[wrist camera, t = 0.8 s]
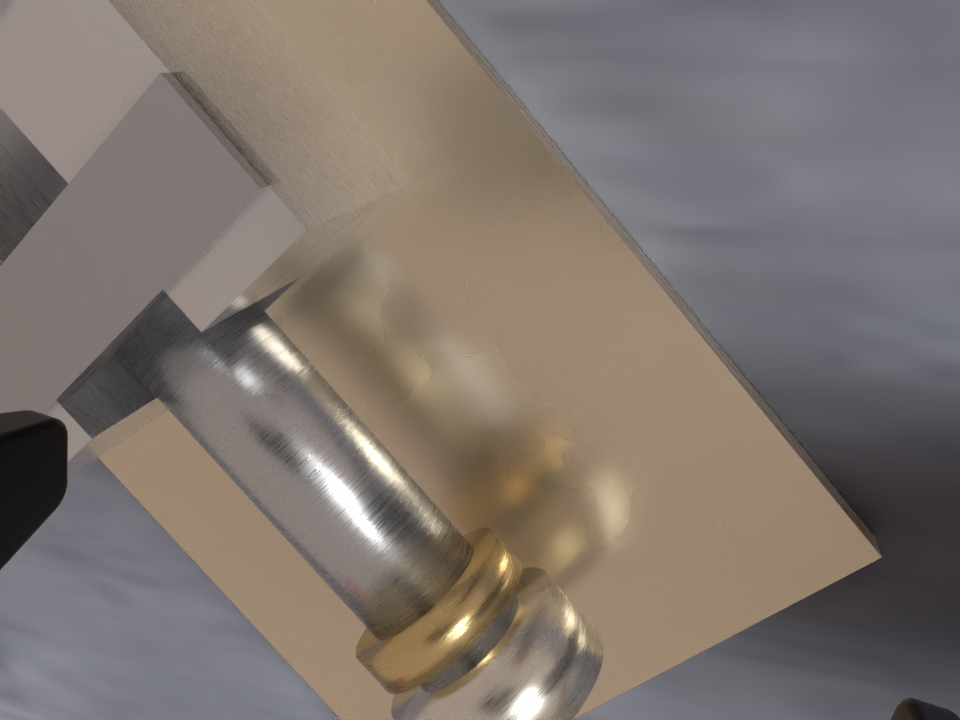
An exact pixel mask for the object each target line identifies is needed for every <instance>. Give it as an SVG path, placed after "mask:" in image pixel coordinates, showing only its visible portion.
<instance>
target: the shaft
mask: <svg viewBox="0 0 960 720" xmlns="http://www.w3.org/2000/svg"><path fill="white" fill-rule="evenodd" d="M116 353H117V354H118V355H119V356H120V357H121V358H122V359H123V360H124V362H125V363H126V364H127V365H128V366H129V367H130V368H131V369H132V370H133V371H134V373H135V374H136V375H137V376H138V377H139V378H140V379H141V380H142V381H143V382H144V384H145V385H146V386H147V387H148V388H149V389H150V390H151V391H152V392H153V393H154V395H155V396H156V397H157V398H158V399H159V400H160V401H161V402H162V403H163V404H164V406H165V407H166V408H167V409H168V410H169V411H170V412H171V413H172V414H173V415H174V417H175V418H176V419H177V420H178V421H179V422H180V423H181V424H182V425H183V426H184V428H185V429H186V430H187V431H188V432H189V433H190V434H191V435H192V436H193V437H194V439H195V440H196V441H197V442H198V443H199V444H200V445H201V446H202V447H203V448H204V450H205V451H206V452H207V453H208V454H209V455H210V456H211V457H212V458H213V459H214V461H215V462H216V463H217V464H218V465H219V466H220V467H221V468H222V469H223V470H224V472H225V473H226V474H227V475H228V476H229V477H230V478H231V479H232V480H233V481H234V483H235V484H236V485H237V486H238V487H239V488H240V489H241V490H242V491H243V492H244V494H245V495H246V496H247V497H248V498H249V499H250V500H251V501H252V502H253V503H254V505H255V506H256V507H257V508H258V509H259V510H260V511H261V512H262V513H263V514H264V516H265V517H266V518H267V519H268V520H269V521H270V522H271V523H272V524H273V525H274V527H275V528H276V529H277V530H278V531H279V532H280V533H281V534H282V535H283V536H284V538H285V539H286V540H287V541H288V542H289V543H290V544H291V545H292V546H293V547H294V549H295V550H296V551H297V552H298V553H299V554H300V555H301V556H302V557H303V558H304V560H305V561H306V562H307V563H308V564H309V565H310V566H311V567H312V568H313V569H314V571H315V572H316V573H317V574H318V575H319V576H320V577H321V578H322V579H323V580H324V582H325V583H326V584H327V585H328V586H329V587H330V588H331V589H332V590H333V591H334V593H335V594H336V595H337V596H338V597H339V598H340V599H341V600H342V601H343V602H344V604H345V605H346V606H347V607H348V608H349V609H350V610H351V611H352V612H353V613H354V615H355V616H356V617H357V618H358V619H359V620H360V621H361V622H362V623H363V624H364V626H365V627H366V629H365V630H364V632H363V634H362V636H361V637H360V640H359V642H358V644H357V647H356V653H355V655H356V658H357V659H358V660H359V662H360V663H361V664H362V665H363V666H364V667H365V668H366V669H367V670H368V671H369V673H370V674H371V675H372V676H373V677H374V678H375V679H376V680H377V681H378V682H379V683H380V685H381V686H382V687H383V688H384V689H385V690H386V691H387V692H388V693H390V694H394V697H393V701H392V706H391V714H392V718H393V719H394V720H573V718H574V717H575V716H576V714H577V713H578V712H579V710H580V709H581V707H582V706H583V704H584V703H585V701H586V699H587V698H588V696H589V694H590V692H591V691H592V689H593V687H594V685H595V682H596V680H597V678H598V675H599V673H600V670H601V667H602V663H603V658H604V643H603V640H602V637H601V635H600V634H599V632H598V631H597V630H596V629H595V628H594V627H593V625H592V624H591V623H590V622H589V621H588V620H587V619H586V617H585V616H584V615H583V614H582V613H581V612H580V611H579V609H578V608H577V607H576V606H575V605H574V604H573V603H572V601H571V600H570V599H569V598H568V597H567V596H566V595H565V593H564V592H563V591H562V590H561V589H560V588H559V587H558V585H557V584H556V583H555V582H554V581H553V580H552V578H551V577H550V576H549V575H548V574H547V573H546V572H545V571H544V570H543V569H541V568H537V567H530V568H524V569H522V567H521V563H520V561H519V560H518V559H517V558H516V557H515V556H514V554H513V553H512V552H511V551H510V550H509V549H508V548H507V546H506V545H505V544H504V543H503V542H502V541H501V540H500V538H499V537H498V536H497V535H496V534H495V533H494V532H493V530H491V529H490V528H480V529H476V530H474V531H471V532H469V533H467V534H465V535H462V534H461V533H460V532H459V531H458V530H457V529H456V528H455V526H454V525H453V524H452V523H451V522H450V521H449V520H448V518H447V517H446V516H445V515H444V514H443V513H442V512H441V510H440V509H439V508H438V507H437V506H436V505H435V504H434V503H433V501H432V500H431V499H430V498H429V497H428V496H427V495H426V493H425V492H424V491H423V490H422V489H421V488H420V487H419V486H418V484H417V483H416V482H415V481H414V480H413V479H412V478H411V476H410V475H409V474H408V473H407V472H406V471H405V470H404V468H403V467H402V466H401V465H400V464H399V463H398V462H397V461H396V459H395V458H394V457H393V456H392V455H391V454H390V453H389V451H388V450H387V449H386V448H385V447H384V446H383V445H382V444H381V442H380V441H379V440H378V439H377V438H376V437H375V436H374V434H373V433H372V432H371V431H370V430H369V429H368V428H367V426H366V425H365V424H364V423H363V422H362V421H361V420H360V419H359V417H358V416H357V415H356V414H355V413H354V412H353V411H352V409H351V408H350V407H349V406H348V405H347V404H346V403H345V402H344V400H343V399H342V398H341V397H340V396H339V395H338V394H337V392H336V391H335V390H334V389H333V388H332V387H331V386H330V384H329V383H328V382H327V381H326V380H325V379H324V378H323V377H322V375H321V374H320V373H319V372H318V371H317V370H316V369H315V367H314V366H313V365H312V364H311V363H310V362H309V361H308V359H307V358H306V357H305V356H304V355H303V354H302V353H301V352H300V350H299V349H298V348H297V347H296V346H295V345H294V344H293V342H292V341H291V340H290V339H289V338H288V337H287V336H286V335H285V333H284V332H283V331H282V330H281V329H280V328H279V327H278V325H277V324H276V323H275V322H274V321H273V320H272V319H271V317H270V316H269V315H268V314H267V313H266V312H265V311H264V310H263V308H262V307H261V306H260V305H259V304H258V303H257V302H255V303H253V304H251V305H250V306H248V307H246V308H244V309H242V310H241V311H239V312H237V313H235V314H233V315H232V316H230V317H228V318H226V319H224V320H223V321H221V322H219V323H217V324H216V325H214V326H212V327H210V328H208V329H207V330H205V331H203V332H200V330H199V329H198V328H197V327H196V326H195V325H194V324H193V323H192V322H191V320H190V319H189V318H188V317H187V316H186V315H185V314H184V313H183V311H182V310H181V309H180V308H179V307H178V306H177V305H176V304H175V302H174V301H173V300H172V299H171V298H170V297H168V298H167V299H166V300H165V301H164V302H163V303H162V304H161V306H160V307H159V308H158V309H157V310H156V311H155V312H154V313H153V314H152V315H151V316H150V317H149V318H148V319H147V320H146V321H145V322H144V323H143V324H142V325H141V326H140V327H139V328H138V329H137V330H136V331H135V332H134V333H133V334H132V335H131V336H130V337H129V338H128V339H127V340H126V341H125V342H124V343H123V344H122V345H121V346H120V348H119V349H118V350H117V351H116Z"/></svg>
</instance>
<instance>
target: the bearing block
mask: <svg viewBox="0 0 960 720" xmlns="http://www.w3.org/2000/svg"><path fill="white" fill-rule="evenodd" d="M168 297H170V298H171V299H172V300H173V301H174V302H175V304H176V305H177V306H178V307H179V308H180V309H181V310H182V311H183V313H184V314H185V315H186V316H187V317H188V318H189V319H190V320H191V322H192V323H193V324H194V325H195V326H196V327H197V328H198V329H199V330H200V332H203V331H205V330H207V329H208V328H210V327H212V326H214V325H216V324H217V323H219V322H221V321H223V320H224V319H226V318H228V317H230V316H232V315H233V314H235V313H237V312H239V311H241V310H242V309H244V308H246V307H248V306H250V305H251V304H253V303H255V302H257V303H258V304H259V305H260V306H261V307H262V308H263V310H264V311H265V312H266V313H267V314H268V315H269V316H270V317H271V319H272V320H273V321H274V322H275V323H276V324H277V325H278V327H279V328H280V329H281V330H282V331H283V332H284V333H285V335H286V336H287V337H288V338H289V339H290V340H291V341H292V342H293V344H294V345H295V346H296V347H297V348H298V349H299V350H300V352H301V353H302V354H303V355H304V356H305V357H306V358H307V359H308V361H309V362H310V363H311V364H312V365H313V366H314V367H315V369H316V370H317V371H318V372H319V373H320V374H321V375H322V377H323V378H324V379H325V380H326V381H327V382H328V383H329V384H330V386H331V387H332V388H333V389H334V390H335V391H336V392H337V394H338V395H339V396H340V397H341V398H342V399H343V400H344V402H345V403H346V404H347V405H348V406H349V407H350V408H351V409H352V411H353V412H354V413H355V414H356V415H357V416H358V417H359V419H360V420H361V421H362V422H363V423H364V424H365V425H366V426H367V428H368V429H369V430H370V431H371V432H372V433H373V434H374V436H375V437H376V438H377V439H378V440H379V441H380V442H381V444H382V445H383V446H384V447H385V448H386V449H387V450H388V451H389V453H390V454H391V455H392V456H393V457H394V458H395V459H396V461H397V462H398V463H399V464H400V465H401V466H402V467H403V468H404V470H405V471H406V472H407V473H408V474H409V475H410V476H411V478H412V479H413V480H414V481H415V482H416V483H417V484H418V486H419V487H420V488H421V489H422V490H423V491H424V492H425V493H426V495H427V496H428V497H429V498H430V499H431V500H432V501H433V503H434V504H435V505H436V506H437V507H438V508H439V509H440V510H441V512H442V513H443V514H444V515H445V516H446V517H447V518H448V520H449V521H450V522H451V523H452V524H453V525H454V526H455V528H456V529H457V530H458V531H459V532H460V533H461V534H462V535H465V534H467V533H469V532H471V531H474V530H476V529H480V528H490V529H491V530H493V532H494V533H495V534H496V535H497V536H498V537H499V538H500V540H501V541H502V542H503V543H504V544H505V545H506V546H507V548H508V549H509V550H510V551H511V552H512V553H513V554H514V556H515V557H516V558H517V559H518V560H519V561H520V563H521V567H522V569H524V568H530V567H537V568H541V569H543V570H544V571H545V572H546V573H547V574H548V575H549V576H550V577H551V578H552V580H553V581H554V582H555V583H556V584H557V585H558V587H559V588H560V589H561V590H562V591H563V592H564V593H565V595H566V596H567V597H568V598H569V599H570V600H571V601H572V603H573V604H574V605H575V606H576V607H577V608H578V609H579V611H580V612H581V613H582V614H583V615H584V616H585V617H586V619H587V620H588V621H589V622H590V623H591V624H592V625H593V627H594V628H595V629H596V630H597V631H598V632H599V634H600V635H601V637H602V640H603V643H604V658H603V663H602V667H601V670H600V673H599V675H598V678H597V680H596V682H595V685H594V687H593V689H592V691H591V692H590V694H589V696H588V698H587V699H586V701H585V703H584V704H583V706H582V707H581V709H580V710H579V712H578V713H577V714H576V716H575V717H574V718H573V719H575V718H577V717H579V716H581V715H582V714H584V713H586V712H588V711H590V710H592V709H594V708H596V707H598V706H600V705H602V704H603V703H605V702H607V701H609V700H611V699H613V698H615V697H617V696H619V695H621V694H622V693H624V692H626V691H628V690H630V689H632V688H634V687H636V686H638V685H640V684H642V683H643V682H645V681H647V680H649V679H651V678H653V677H655V676H657V675H659V674H661V673H663V672H664V671H666V670H668V669H670V668H672V667H674V666H676V665H678V664H680V663H682V662H683V661H685V660H687V659H689V658H691V657H693V656H695V655H697V654H699V653H701V652H703V651H704V650H706V649H708V648H710V647H712V646H714V645H716V644H718V643H720V642H722V641H724V640H725V639H727V638H729V637H731V636H733V635H735V634H737V633H739V632H741V631H743V630H744V629H746V628H748V627H750V626H752V625H754V624H756V623H758V622H760V621H762V620H764V619H765V618H767V617H769V616H771V615H773V614H775V613H777V612H779V611H781V610H783V609H785V608H786V607H788V606H790V605H792V604H794V603H796V602H798V601H800V600H802V599H804V598H805V597H807V596H809V595H811V594H813V593H815V592H817V591H819V590H821V589H823V588H825V587H826V586H828V585H830V584H832V583H834V582H836V581H838V580H840V579H842V578H844V577H846V576H847V575H849V574H851V573H853V572H855V571H857V570H859V569H861V568H863V567H865V566H867V565H868V564H870V563H872V562H874V561H876V560H878V559H880V558H882V556H881V553H880V550H879V547H878V544H877V541H876V538H875V536H874V534H873V533H872V532H871V531H870V530H869V528H868V527H867V526H866V525H865V523H864V522H863V521H862V520H861V519H860V517H859V516H858V515H857V514H856V512H855V511H854V510H853V509H852V508H851V506H850V505H849V504H848V503H847V501H846V500H845V499H844V498H843V497H842V495H841V494H840V493H839V492H838V490H837V489H836V488H835V487H834V485H833V484H832V483H831V482H830V481H829V479H828V478H827V477H826V476H825V474H824V473H823V472H822V471H821V470H820V468H819V467H818V466H817V465H816V463H815V462H814V461H813V460H812V459H811V457H810V456H809V455H808V454H807V452H806V451H805V450H804V449H803V448H802V446H801V445H800V444H799V443H798V441H797V440H796V439H795V438H794V437H793V435H792V434H791V433H790V432H789V430H788V429H787V428H786V427H785V425H784V424H783V423H782V422H781V421H780V419H779V418H778V417H777V416H776V414H775V413H774V412H773V411H772V410H771V408H770V407H769V406H768V405H767V403H766V402H765V401H764V400H763V399H762V397H761V396H760V395H759V394H758V392H757V391H756V390H755V389H754V388H753V386H752V385H751V384H750V383H749V381H748V380H747V379H746V378H745V377H744V375H743V374H742V373H741V372H740V370H739V369H738V368H737V367H736V365H735V364H734V363H733V362H732V361H731V359H730V358H729V357H728V356H727V354H726V353H725V352H724V351H723V350H722V348H721V347H720V346H719V345H718V343H717V342H716V341H715V340H714V339H713V337H712V336H711V335H710V334H709V332H708V331H707V330H706V329H705V328H704V326H703V325H702V324H701V323H700V321H699V320H698V319H697V318H696V317H695V315H694V314H693V313H692V312H691V310H690V309H689V308H688V307H687V305H686V304H685V303H684V302H683V301H682V299H681V298H680V297H679V296H678V294H677V293H676V292H675V291H674V290H673V288H672V287H671V286H670V285H669V283H668V282H667V281H666V280H665V279H664V277H663V276H662V275H661V274H660V272H659V271H658V270H657V269H656V268H655V266H654V265H653V264H652V263H651V261H650V260H649V259H648V258H647V257H646V255H645V254H644V253H643V252H642V250H641V249H640V248H639V247H638V245H637V244H636V243H635V242H634V241H633V239H632V238H631V237H630V236H629V234H628V233H627V232H626V231H625V230H624V228H623V227H622V226H621V225H620V223H619V222H618V221H617V220H616V219H615V217H614V216H613V215H612V214H611V212H610V211H609V210H608V209H607V208H606V206H605V205H604V204H603V203H602V201H601V200H600V199H599V198H598V197H597V195H596V194H595V193H594V192H593V190H592V189H591V188H590V187H589V185H588V184H587V183H586V182H585V181H584V179H583V178H582V177H581V176H580V174H579V173H578V172H577V171H576V170H575V168H574V167H573V166H572V165H571V163H570V162H569V161H568V160H567V159H566V157H565V156H564V155H563V154H562V152H561V151H560V150H559V149H558V148H557V146H556V145H555V144H554V143H553V141H552V140H551V139H550V138H549V136H548V135H547V134H546V133H545V132H544V130H543V129H542V128H541V127H540V125H539V124H538V123H537V122H536V121H535V119H534V118H533V117H532V116H531V114H530V113H529V112H528V111H527V110H526V108H525V107H524V106H523V105H522V103H521V102H520V101H519V100H518V99H517V97H516V96H515V95H514V94H513V92H512V91H511V90H510V89H509V88H508V86H507V85H506V84H505V83H504V81H503V80H502V79H501V78H500V76H499V75H498V74H497V73H496V72H495V70H494V69H493V68H492V67H491V65H490V64H489V63H488V62H487V61H486V59H485V58H484V57H483V56H482V54H481V53H480V52H479V51H478V50H477V48H476V47H475V46H474V45H473V43H472V42H471V41H470V40H469V39H468V37H467V36H466V35H465V34H464V32H463V31H462V30H461V29H460V28H459V26H458V25H457V24H456V23H455V21H454V20H453V19H452V18H451V16H450V15H449V14H448V13H447V12H446V10H445V9H444V8H443V7H442V5H441V4H440V3H439V2H438V1H437V0H0V413H6V412H14V411H22V410H31V411H36V412H39V413H42V414H45V415H48V416H51V417H54V418H57V419H59V420H61V421H62V422H63V423H64V424H65V426H66V428H67V431H68V473H67V478H69V477H70V476H72V475H73V474H75V473H76V472H78V471H79V470H81V469H82V468H84V467H85V466H87V465H88V464H90V463H91V462H93V461H94V460H96V459H97V458H99V459H100V460H101V461H102V462H103V463H104V465H105V466H106V467H107V468H108V469H109V470H110V471H111V472H112V473H113V474H114V475H115V476H116V477H117V479H118V480H119V481H120V482H121V483H122V484H123V485H124V486H125V487H126V488H127V489H128V490H129V491H130V493H131V494H132V495H133V496H134V497H135V498H136V499H137V500H138V501H139V502H140V503H141V504H142V506H143V507H144V508H145V509H146V510H147V511H148V512H149V513H150V514H151V515H152V516H153V517H154V518H155V520H156V521H157V522H158V523H159V524H160V525H161V526H162V527H163V528H164V529H165V530H166V531H167V533H168V534H169V535H170V536H171V537H172V538H173V539H174V540H175V541H176V542H177V543H178V544H179V545H180V547H181V548H182V549H183V550H184V551H185V552H186V553H187V554H188V555H189V556H190V557H191V558H192V559H193V561H194V562H195V563H196V564H197V565H198V566H199V567H200V568H201V569H202V570H203V571H204V572H205V574H206V575H207V576H208V577H209V578H210V579H211V580H212V581H213V582H214V583H215V584H216V585H217V586H218V588H219V589H220V590H221V591H222V592H223V593H224V594H225V595H226V596H227V597H228V598H229V599H230V601H231V602H232V603H233V604H234V605H235V606H236V607H237V608H238V609H239V610H240V611H241V612H242V613H243V615H244V616H245V617H246V618H247V619H248V620H249V621H250V622H251V623H252V624H253V625H254V626H255V627H256V629H257V630H258V631H259V632H260V633H261V634H262V635H263V636H264V637H265V638H266V639H267V640H268V642H269V643H270V644H271V645H272V646H273V647H274V648H275V649H276V650H277V651H278V652H279V653H280V654H281V656H282V657H283V658H284V659H285V660H286V661H287V662H288V663H289V664H290V665H291V666H292V667H293V669H294V670H295V671H296V672H297V673H298V674H299V675H300V676H301V677H302V678H303V679H304V680H305V681H306V683H307V684H308V685H309V686H310V687H311V688H312V689H313V690H314V691H315V692H316V693H317V694H318V696H319V697H320V698H321V699H322V700H323V701H324V702H325V703H326V704H327V705H328V706H329V707H330V708H331V710H332V711H333V712H334V713H335V714H336V715H337V716H338V717H339V718H340V719H341V720H394V719H393V718H392V714H391V706H392V701H393V697H394V694H390V693H388V692H387V691H386V690H385V689H384V688H383V687H382V686H381V685H380V683H379V682H378V681H377V680H376V679H375V678H374V677H373V676H372V675H371V674H370V673H369V671H368V670H367V669H366V668H365V667H364V666H363V665H362V664H361V663H360V662H359V660H358V659H357V658H356V655H355V653H356V647H357V644H358V642H359V640H360V637H361V636H362V634H363V632H364V630H365V629H366V627H365V626H364V624H363V623H362V622H361V621H360V620H359V619H358V618H357V617H356V616H355V615H354V613H353V612H352V611H351V610H350V609H349V608H348V607H347V606H346V605H345V604H344V602H343V601H342V600H341V599H340V598H339V597H338V596H337V595H336V594H335V593H334V591H333V590H332V589H331V588H330V587H329V586H328V585H327V584H326V583H325V582H324V580H323V579H322V578H321V577H320V576H319V575H318V574H317V573H316V572H315V571H314V569H313V568H312V567H311V566H310V565H309V564H308V563H307V562H306V561H305V560H304V558H303V557H302V556H301V555H300V554H299V553H298V552H297V551H296V550H295V549H294V547H293V546H292V545H291V544H290V543H289V542H288V541H287V540H286V539H285V538H284V536H283V535H282V534H281V533H280V532H279V531H278V530H277V529H276V528H275V527H274V525H273V524H272V523H271V522H270V521H269V520H268V519H267V518H266V517H265V516H264V514H263V513H262V512H261V511H260V510H259V509H258V508H257V507H256V506H255V505H254V503H253V502H252V501H251V500H250V499H249V498H248V497H247V496H246V495H245V494H244V492H243V491H242V490H241V489H240V488H239V487H238V486H237V485H236V484H235V483H234V481H233V480H232V479H231V478H230V477H229V476H228V475H227V474H226V473H225V472H224V470H223V469H222V468H221V467H220V466H219V465H218V464H217V463H216V462H215V461H214V459H213V458H212V457H211V456H210V455H209V454H208V453H207V452H206V451H205V450H204V448H203V447H202V446H201V445H200V444H199V443H198V442H197V441H196V440H195V439H194V437H193V436H192V435H191V434H190V433H189V432H188V431H187V430H186V429H185V428H184V426H183V425H182V424H181V423H180V422H179V421H178V420H177V419H176V418H175V417H174V415H173V414H172V413H171V412H170V411H169V410H168V409H167V408H166V407H165V406H164V404H163V403H162V402H161V401H160V400H159V399H158V398H157V397H156V396H155V395H154V393H153V392H152V391H151V390H150V389H149V388H148V387H147V386H146V385H145V384H144V382H143V381H142V380H141V379H140V378H139V377H138V376H137V375H136V374H135V373H134V371H133V370H132V369H131V368H130V367H129V366H128V365H127V364H126V363H125V362H124V360H123V359H122V358H121V357H120V356H119V355H118V354H117V353H116V351H117V350H118V349H119V348H120V346H121V345H122V344H123V343H124V342H125V341H126V340H127V339H128V338H129V337H130V336H131V335H132V334H133V333H134V332H135V331H136V330H137V329H138V328H139V327H140V326H141V325H142V324H143V323H144V322H145V321H146V320H147V319H148V318H149V317H150V316H151V315H152V314H153V313H154V312H155V311H156V310H157V309H158V308H159V307H160V306H161V304H162V303H163V302H164V301H165V300H166V299H167V298H168Z"/></svg>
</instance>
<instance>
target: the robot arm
mask: <svg viewBox="0 0 960 720" xmlns="http://www.w3.org/2000/svg"><path fill="white" fill-rule="evenodd" d="M67 473H68V431H67V428H66V426H65V424H64V423H63V422H62V421H61V420H59V419H57V418H54V417H51V416H48V415H45V414H42V413H39V412H36V411H31V410H22V411H14V412H6V413H0V570H1V569H2V568H3V566H4V565H5V564H6V563H7V562H8V561H9V560H10V559H11V558H12V557H13V555H14V554H15V553H16V552H17V551H18V550H19V549H20V548H21V547H22V546H23V544H24V543H25V542H26V541H27V540H28V539H29V538H30V537H31V536H32V535H33V533H34V532H35V531H36V530H37V529H38V528H39V527H40V526H41V525H42V524H43V522H44V521H45V520H46V519H47V518H48V517H49V516H50V515H51V514H52V513H53V511H54V510H55V509H56V508H57V507H58V506H59V504H60V502H61V501H62V499H63V497H64V495H65V492H66V488H67ZM891 720H960V718H959V717H958V716H957V715H956V714H955V713H953V712H952V711H950V710H948V709H945V708H942V707H939V706H935V705H932V704H929V703H926V702H923V701H920V700H917V699H914V698H908V699H905V700H903V701H902V702H901V703H900V704H899V705H898V706H897V708H896V710H895V712H894V714H893V716H892V718H891Z"/></svg>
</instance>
